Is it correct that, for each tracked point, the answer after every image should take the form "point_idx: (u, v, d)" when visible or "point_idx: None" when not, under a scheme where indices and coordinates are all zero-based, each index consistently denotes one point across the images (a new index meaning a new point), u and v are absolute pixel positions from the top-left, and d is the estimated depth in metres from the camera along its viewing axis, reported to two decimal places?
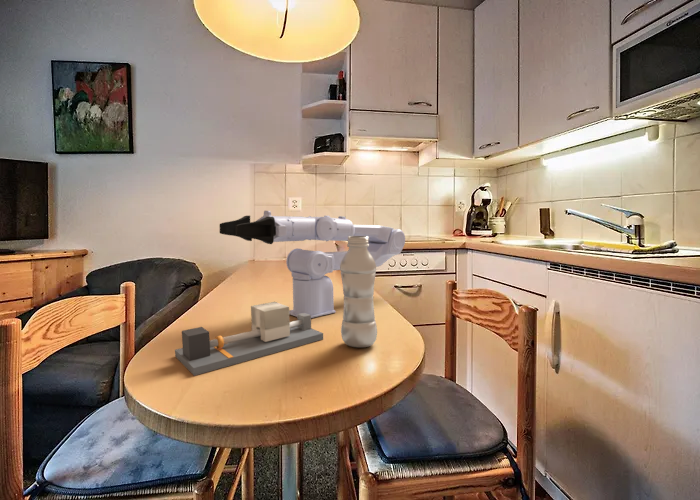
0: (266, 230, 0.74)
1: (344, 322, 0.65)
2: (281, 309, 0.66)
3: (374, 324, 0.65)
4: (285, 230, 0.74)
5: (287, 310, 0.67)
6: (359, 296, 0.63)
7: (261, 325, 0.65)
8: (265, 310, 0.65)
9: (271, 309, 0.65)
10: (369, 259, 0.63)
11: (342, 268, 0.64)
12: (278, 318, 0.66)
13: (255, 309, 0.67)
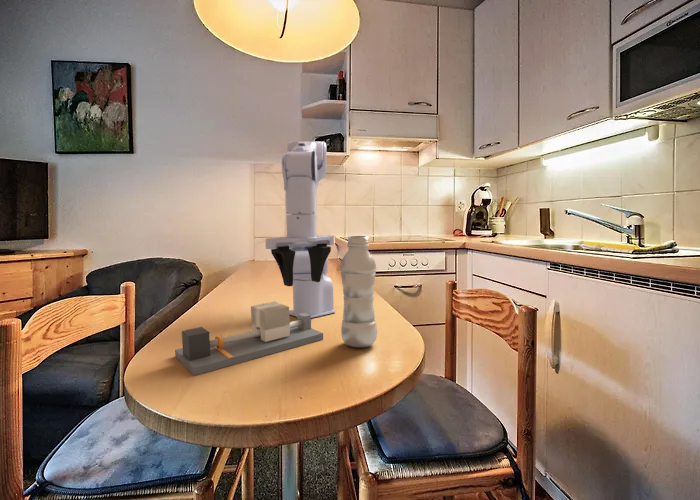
0: None
1: (344, 322, 0.65)
2: (281, 309, 0.66)
3: (374, 324, 0.65)
4: None
5: (287, 310, 0.67)
6: (359, 296, 0.63)
7: (261, 325, 0.65)
8: (265, 310, 0.65)
9: (271, 309, 0.65)
10: (369, 259, 0.63)
11: (342, 268, 0.64)
12: (278, 318, 0.66)
13: (255, 309, 0.67)
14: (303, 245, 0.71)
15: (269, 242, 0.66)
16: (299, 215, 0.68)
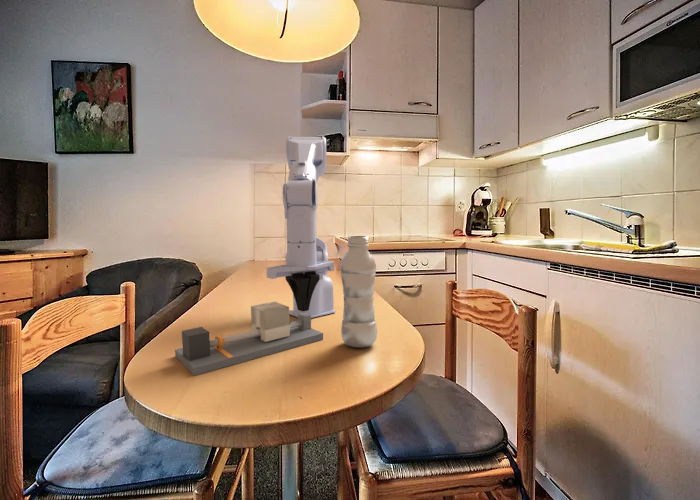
0: None
1: (344, 322, 0.65)
2: (281, 309, 0.66)
3: (374, 324, 0.65)
4: None
5: (287, 310, 0.67)
6: (359, 296, 0.63)
7: (261, 325, 0.65)
8: (265, 310, 0.65)
9: (271, 309, 0.65)
10: (369, 259, 0.63)
11: (342, 268, 0.64)
12: (278, 318, 0.66)
13: (255, 309, 0.67)
14: (304, 272, 0.72)
15: (270, 272, 0.67)
16: (300, 244, 0.68)
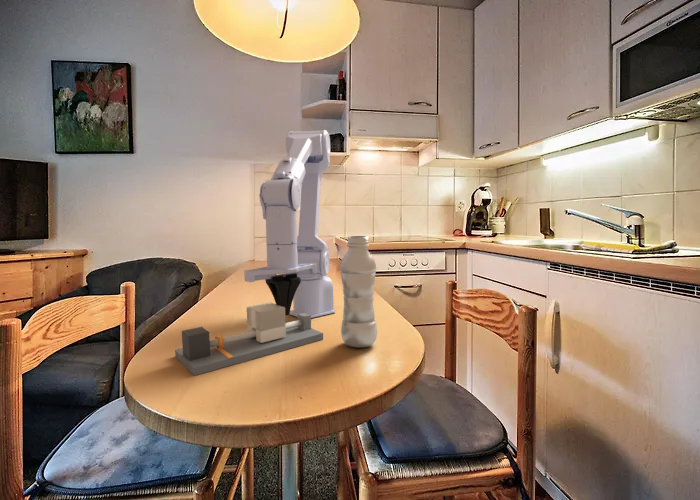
0: None
1: (344, 322, 0.65)
2: (277, 310, 0.66)
3: (374, 324, 0.65)
4: None
5: (283, 311, 0.66)
6: (359, 296, 0.63)
7: (257, 326, 0.65)
8: (261, 311, 0.64)
9: (267, 310, 0.65)
10: (369, 259, 0.63)
11: (342, 268, 0.64)
12: (274, 319, 0.65)
13: (251, 310, 0.66)
14: (284, 275, 0.69)
15: (248, 275, 0.64)
16: (279, 246, 0.66)
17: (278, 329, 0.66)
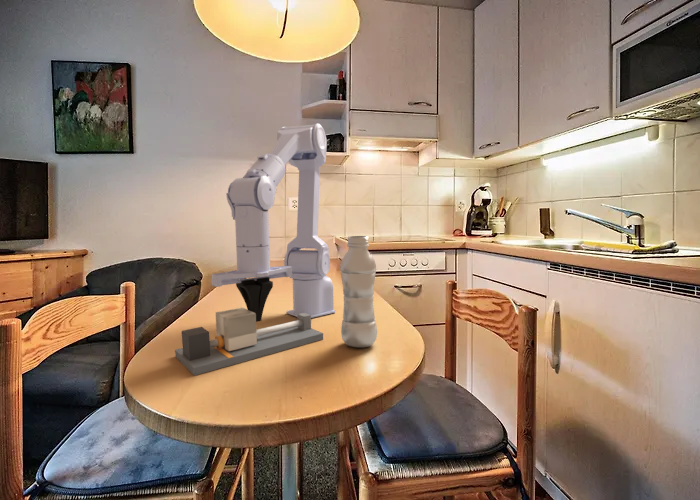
0: None
1: (344, 322, 0.65)
2: (247, 316, 0.62)
3: (374, 324, 0.65)
4: None
5: (254, 317, 0.63)
6: (359, 296, 0.63)
7: (225, 333, 0.61)
8: (229, 317, 0.60)
9: (236, 316, 0.61)
10: (369, 259, 0.63)
11: (342, 268, 0.64)
12: (243, 326, 0.62)
13: (219, 316, 0.62)
14: (256, 279, 0.65)
15: (214, 279, 0.60)
16: (249, 248, 0.62)
17: (248, 336, 0.62)
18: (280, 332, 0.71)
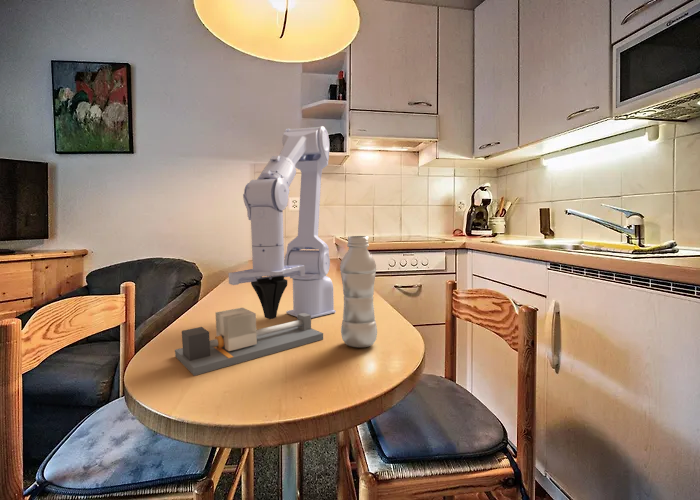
0: None
1: (344, 322, 0.65)
2: (247, 316, 0.62)
3: (374, 324, 0.65)
4: None
5: (253, 317, 0.63)
6: (359, 296, 0.63)
7: (225, 333, 0.61)
8: (229, 317, 0.60)
9: (235, 316, 0.61)
10: (369, 259, 0.63)
11: (342, 268, 0.64)
12: (243, 326, 0.62)
13: (219, 316, 0.62)
14: (271, 277, 0.67)
15: (232, 277, 0.62)
16: (264, 247, 0.64)
17: (248, 336, 0.62)
18: (280, 332, 0.71)
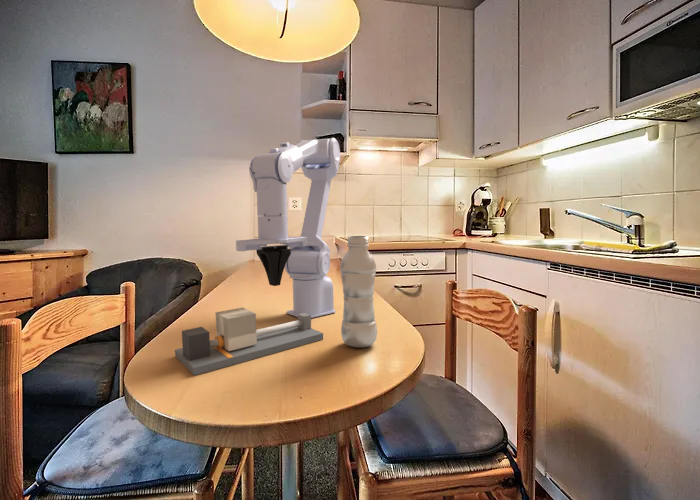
0: None
1: (344, 322, 0.65)
2: (247, 316, 0.62)
3: (374, 324, 0.65)
4: None
5: (253, 317, 0.63)
6: (359, 296, 0.63)
7: (225, 333, 0.61)
8: (229, 317, 0.60)
9: (235, 316, 0.61)
10: (369, 259, 0.63)
11: (342, 268, 0.64)
12: (243, 326, 0.62)
13: (219, 316, 0.62)
14: (275, 246, 0.71)
15: (239, 244, 0.66)
16: (270, 217, 0.68)
17: (248, 336, 0.62)
18: (280, 332, 0.71)
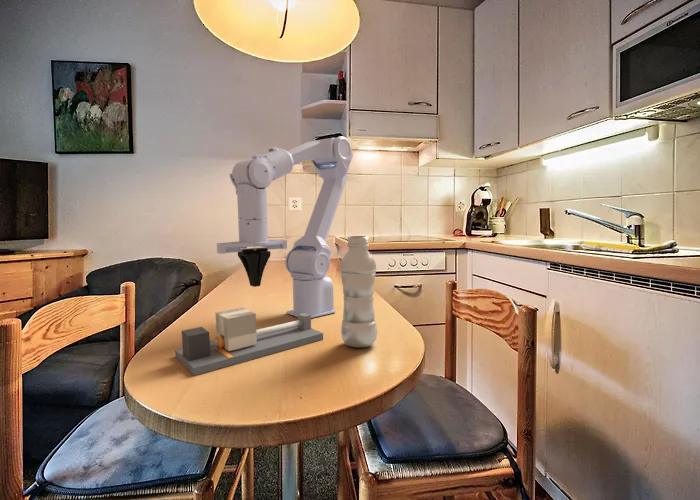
0: None
1: (344, 322, 0.65)
2: (247, 316, 0.62)
3: (374, 324, 0.65)
4: None
5: (253, 317, 0.63)
6: (359, 296, 0.63)
7: (225, 333, 0.61)
8: (229, 317, 0.60)
9: (235, 316, 0.61)
10: (369, 259, 0.63)
11: (342, 268, 0.64)
12: (243, 326, 0.62)
13: (219, 316, 0.62)
14: (255, 249, 0.74)
15: (219, 247, 0.69)
16: (249, 221, 0.71)
17: (248, 336, 0.62)
18: (280, 332, 0.71)
